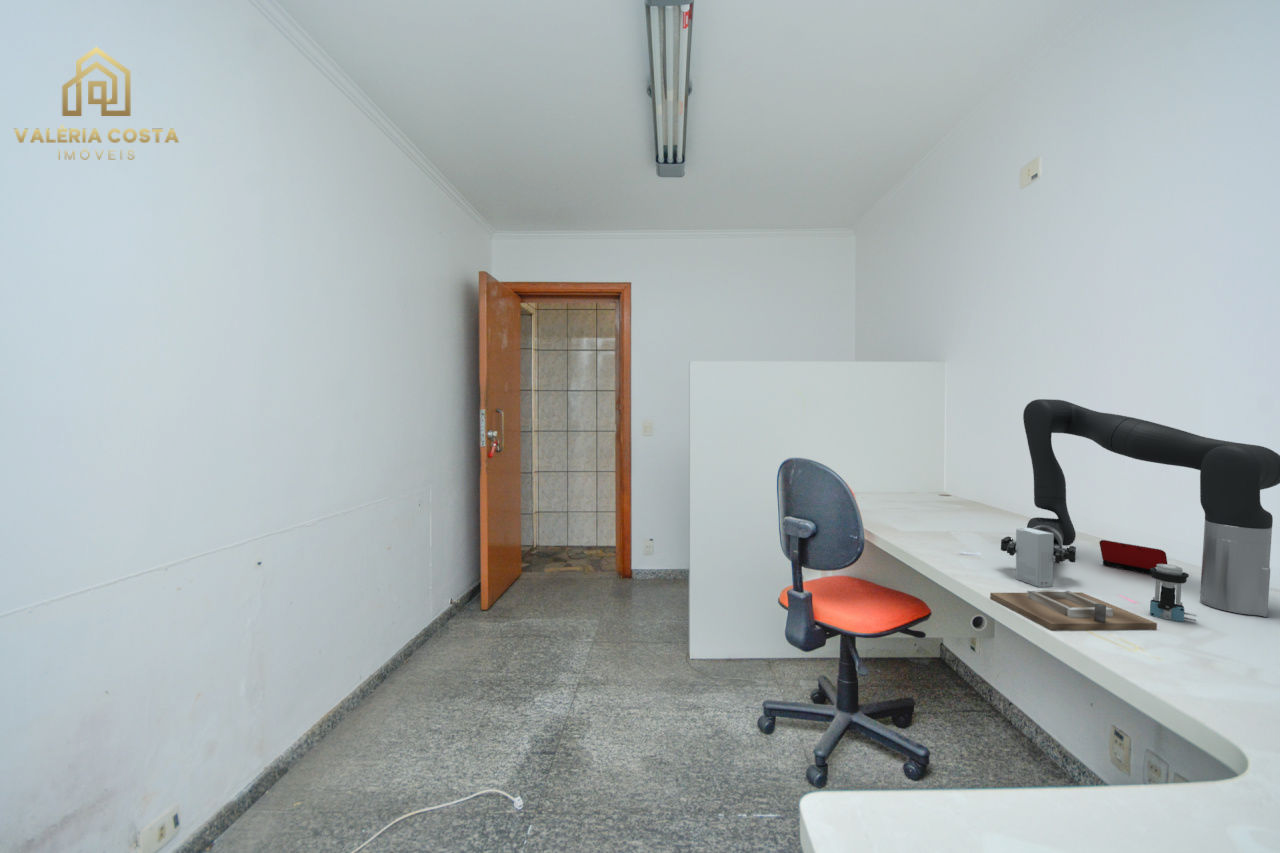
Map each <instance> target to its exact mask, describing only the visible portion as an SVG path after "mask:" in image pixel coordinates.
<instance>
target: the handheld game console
mask: <svg viewBox="0 0 1280 853" xmlns="http://www.w3.org/2000/svg"><path fill="white" fill-rule="evenodd" d="M1099 547H1100V552H1101V557H1102V565H1103V566H1107V567H1111V568H1115V569H1119V570H1120V569H1122V570H1126V571H1133V572H1138V573H1142V574H1146V575H1150V576H1151V575H1152V572H1151V571H1150V568H1155V567H1157V564H1168V559H1167V558H1168V557H1167V553H1166V551H1164V550H1162V549H1160V548H1154V547H1147V546H1143V545H1142V546H1141V545H1136V544H1130V543H1123V542H1119V541H1118V542H1117V541H1112V540H1111V541H1110V540H1105V539H1101V540H1099Z"/></svg>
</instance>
